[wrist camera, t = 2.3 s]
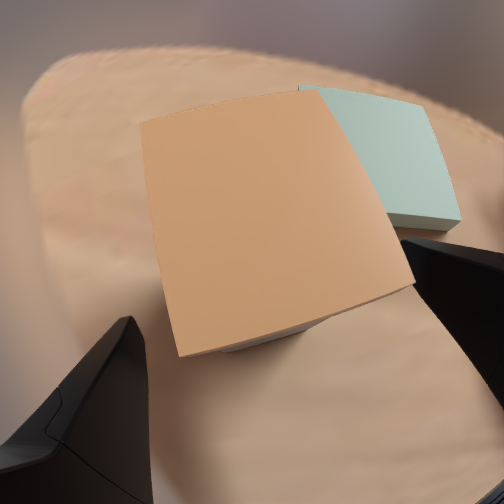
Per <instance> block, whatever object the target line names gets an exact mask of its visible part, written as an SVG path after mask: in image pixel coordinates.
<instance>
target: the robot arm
mask: <svg viewBox="0 0 504 504" xmlns="http://www.w3.org/2000/svg"><path fill="white" fill-rule="evenodd" d="M400 244H401V246H402V249H403V251H404V254H405V256H406V258H407V261H408V263H409V266H410V268H411V271H412V274H413V276H414V279H415V281H416V282H415V283H414V284H412V285H413V286H414V288H415V289H416V291H417V292H418V294H419V295H420V296H421V298H422V299H423V300H424V302H425V303H426V304H427V305H428V307H429V308H430V309H431V310H432V311H433V313H434V314H435V315H436V316H437V318H438V319H439V320H440V321H441V323H442V324H443V325H444V326H445V328H446V329H447V330H448V331H449V333H450V334H451V335H452V337H453V338H454V339H455V341H456V342H457V343H458V345H459V346H460V347H461V349H462V350H463V351H464V353H465V354H466V355H467V357H468V358H469V359H470V361H471V362H472V364H473V365H474V366H475V368H476V369H477V371H478V372H479V373H480V375H481V376H482V378H483V379H484V381H485V382H486V384H488V387H489V388H490V390H491V391H492V393H493V394H494V396H495V397H496V399H497V400H498V402H499V404H500V405H501V407H502V408H503V410H504V253H498V252H493V251H488V250H483V249H477V248H472V247H466V246H461V245H455V244H449V243H444V242H438V241H432V240H426V239H420V238H414V237H409V238H405V239H403V240H401V241H400ZM58 387H59V388H58ZM58 387H57V388H56V389H55V390H54V391H53V392H52V393H51V395H50V396H49V397H48V398H47V399H46V400H45V401H44V403H43V404H42V405H41V406H40V407H39V408H38V409H37V410H36V411H35V412H34V413H33V414H32V415H31V416H30V417H29V418H28V419H27V420H26V421H25V422H24V423H23V424H22V425H21V426H20V427H19V428H18V429H17V431H16V432H15V433H14V434H13V435H12V436H11V437H10V438H9V439H8V440H7V441H6V442H5V443H4V444H2V445H1V446H0V504H153V495H152V482H151V468H150V449H149V409H148V392H149V389H148V374H147V364H146V353H145V342H144V338H143V335H142V333H141V331H140V329H139V327H138V325H137V323H136V321H135V319H134V318H133V317H132V316H126V317H122V318H120V319H118V321H117V322H116V323H115V324H114V325H113V326H112V327H111V328H110V329H109V330H108V331H107V332H106V333H105V334H104V335H103V336H102V338H101V339H100V340H99V341H98V342H97V343H96V344H95V345H94V346H93V347H92V348H91V350H90V351H89V352H88V353H87V354H86V355H85V356H84V357H83V358H82V359H81V361H80V362H79V363H78V364H77V365H76V366H75V367H74V368H73V370H72V371H71V372H70V373H69V374H68V375H67V376H66V377H65V379H64V380H63V381H62V382H61V383H60V384H59V386H58ZM475 504H504V480H502V481H501V482H500V483H499V484H498V485H497V486H496V487H495V488H493V489H492V490H491V491H490V492H489V493H488V494H486V495H485V496H484V497H483V498H482V499H480V500H479V501H478V502H477V503H475Z"/></svg>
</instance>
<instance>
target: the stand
mask: <svg viewBox="0 0 504 504" xmlns="http://www.w3.org/2000/svg"><path fill="white" fill-rule="evenodd" d="M311 89H317V91H318V92H319V94H320V95H321V97H322V98H323V100H324V101H325V103H326V104H327V106H328V108H329V109H330V111H331V112H332V114H333V115H334V117H335V119H336V120H337V122H338V124H339V125H340V127H341V129H342V130H343V132H344V134H345V135H346V137H347V139H348V140H349V142H350V144H351V146H352V147H353V149H354V151H355V153H356V154H357V156H358V158H359V160H360V162H361V163H362V165H363V167H364V169H365V171H366V173H367V175H368V177H369V178H370V180H371V182H372V184H373V186H374V188H375V190H376V192H377V194H378V196H379V198H380V200H381V202H382V204H383V206H384V209H385V211H386V213H387V215H388V217H389V219H390V221H391V224H392V226H393V227H405V228H417V229H428V230H439V231H449V230H451V229H452V228H453V227H454V226H456V225H457V224H458V223H459V222H461V221H462V219H461V215H460V211H459V208H458V204H457V200H456V197H455V193H454V190H453V186H452V183H451V180H450V177H449V174H448V170H447V167H446V164H445V162H444V159H443V156H442V153H441V150H440V148H439V145H438V142H437V140H436V137H435V135H434V132H433V130H432V127H431V125H430V122H429V120H428V118H427V115H426V113H425V111H424V109H423V106H419V105H415V104H411V103H407V102H403V101H399V100H394V99H390V98H385V97H380V96H375V95H370V94H365V93H359V92H353V91H347V90H340V89H333V88H326V87H318V86H309V85H299V86H298V91H301V90H311Z"/></svg>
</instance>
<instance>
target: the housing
mask: <svg viewBox="0 0 504 504" xmlns="http://www.w3.org/2000/svg"><path fill="white" fill-rule="evenodd" d="M140 127H141V139H142V150H143V160H144V169H145V178H146V186H147V194H148V202H149V209H150V216H151V222H152V229H153V235H154V241H155V247H156V253H157V258H158V264H159V269H160V275H161V280H162V285H163V290H164V294H165V299H166V304H167V308H168V313H169V317H170V322H171V326H172V330H173V335H174V339H175V343H176V347H177V351H178V355H179V357H186V358H189V357H193V356H197V355H201V354H205V353H210V352H214V351H217V350H219V351H222V352H225V353H229V352H233V351H237V350H240V349H244V348H248V347H251V346H255V345H258V344H262V343H265V342H269V341H272V340H276V339H279V338H282V337H285V336H289V335H292V334H295V333H298V332H301V331H305V330H307V329H309V328H311V327H313V326H315V325H317V324H319V323H321V322H322V321H324V320H326V319H328V318H330V317H332V316H335V315H337V314H340V313H343V312H346V311H349V310H352V309H354V308H357V307H360V306H363V305H365V304H368V303H371V302H373V301H376V300H379V299H381V298H384V297H386V296H389V295H392V294H394V293H397V292H399V291H401V290H403V289H404V288H406V287H408V286H410V285H412V284H414V283H415V282H416V281H415V279H414V276H413V274H412V271H411V268H410V266H409V263H408V261H407V258H406V256H405V254H404V251H403V249H402V246H401V244H400V242H399V239H398V237H397V235H396V233H395V230H394V228H393V226H392V224H391V221H390V219H389V217H388V215H387V213H386V211H385V209H384V206H383V204H382V202H381V200H380V198H379V196H378V194H377V192H376V190H375V188H374V186H373V184H372V182H371V180H370V178H369V177H368V175H367V173H366V171H365V169H364V167H363V165H362V163H361V162H360V160H359V158H358V156H357V154H356V153H355V151H354V149H353V147H352V146H351V144H350V142H349V140H348V139H347V137H346V135H345V134H344V132H343V130H342V129H341V127H340V125H339V124H338V122H337V120H336V119H335V117H334V115H333V114H332V112H331V111H330V109H329V108H328V106H327V104H326V103H325V101H324V100H323V98H322V97H321V95H320V94H319V92H318V91H317V89H311V90H301V91H292V92H283V93H276V94H269V95H262V96H255V97H249V98H243V99H238V100H232V101H227V102H222V103H217V104H212V105H208V106H203V107H199V108H194V109H190V110H186V111H182V112H178V113H174V114H170V115H167V116H163V117H159V118H156V119H152V120H149V121H146V122H142V123H140Z"/></svg>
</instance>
